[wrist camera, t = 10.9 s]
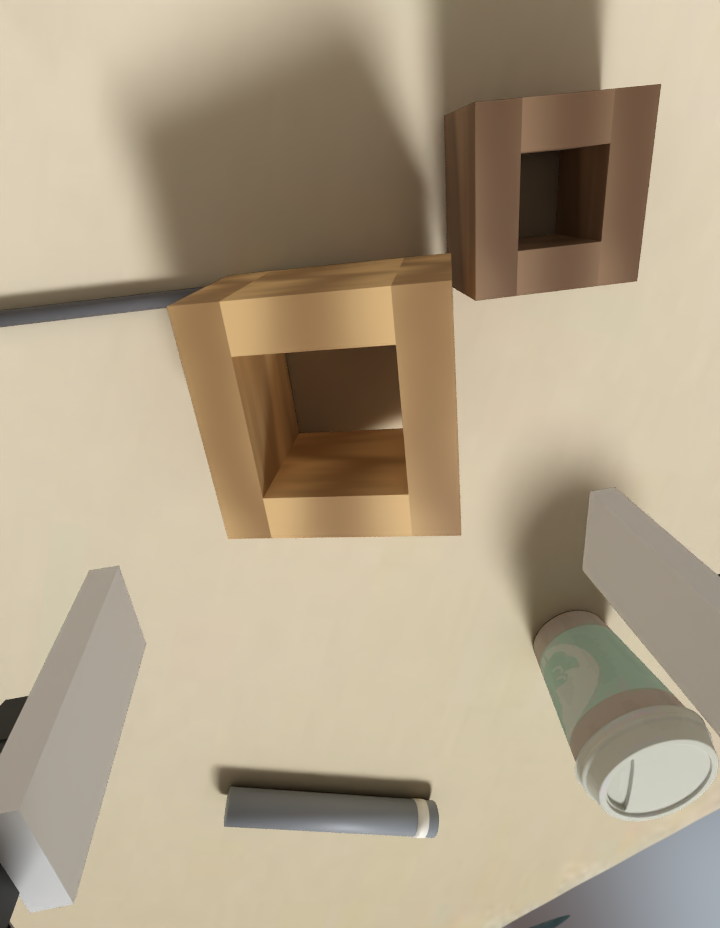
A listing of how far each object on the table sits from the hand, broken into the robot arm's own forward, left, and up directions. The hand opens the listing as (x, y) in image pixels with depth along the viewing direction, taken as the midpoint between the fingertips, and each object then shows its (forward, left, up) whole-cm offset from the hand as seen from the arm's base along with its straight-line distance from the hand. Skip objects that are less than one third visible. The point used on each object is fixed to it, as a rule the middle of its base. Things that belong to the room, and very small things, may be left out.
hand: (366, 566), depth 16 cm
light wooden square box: (+1, 0, -17) cm, 17 cm away
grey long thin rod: (-9, +5, -19) cm, 21 cm away
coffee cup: (+16, -24, -19) cm, 35 cm away
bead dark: (+11, +8, -19) cm, 23 cm away
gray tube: (-12, -35, -17) cm, 41 cm away
